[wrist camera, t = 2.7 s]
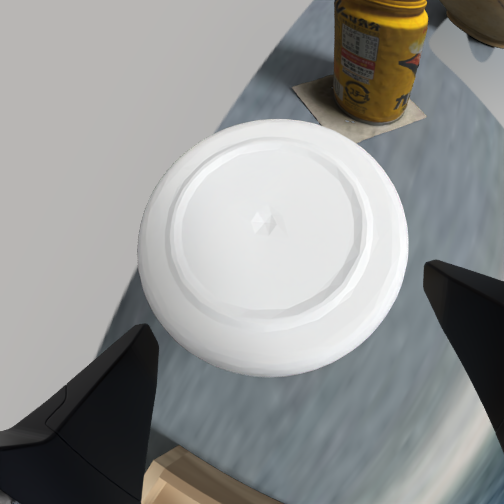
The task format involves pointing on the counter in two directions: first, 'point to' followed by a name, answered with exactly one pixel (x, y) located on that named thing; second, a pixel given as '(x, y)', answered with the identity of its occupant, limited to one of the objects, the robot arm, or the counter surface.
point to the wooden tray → (194, 483)
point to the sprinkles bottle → (273, 248)
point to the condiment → (370, 68)
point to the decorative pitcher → (478, 19)
